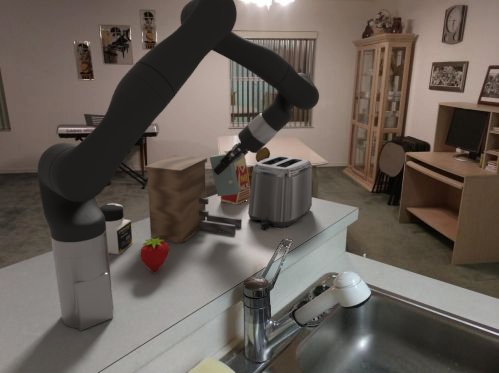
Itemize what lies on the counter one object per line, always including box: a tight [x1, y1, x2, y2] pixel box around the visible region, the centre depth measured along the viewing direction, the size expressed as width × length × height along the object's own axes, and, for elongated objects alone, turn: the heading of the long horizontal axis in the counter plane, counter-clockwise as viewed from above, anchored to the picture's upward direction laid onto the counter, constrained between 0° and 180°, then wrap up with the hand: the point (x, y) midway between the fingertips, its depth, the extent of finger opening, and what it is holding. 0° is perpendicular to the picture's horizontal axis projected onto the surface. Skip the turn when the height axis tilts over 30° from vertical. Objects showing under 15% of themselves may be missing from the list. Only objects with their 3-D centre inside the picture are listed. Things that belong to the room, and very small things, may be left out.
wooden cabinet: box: [144, 154, 243, 244], centre depth 110 cm, size 22×18×21 cm
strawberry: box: [139, 237, 170, 273], centre depth 88 cm, size 6×8×10 cm
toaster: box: [247, 155, 313, 231], centre depth 125 cm, size 17×30×19 cm, turn 148°
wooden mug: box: [247, 146, 271, 189], centre depth 150 cm, size 9×14×18 cm, turn 152°
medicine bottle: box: [99, 203, 133, 255], centre depth 100 cm, size 7×7×12 cm
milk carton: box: [220, 150, 250, 206], centre depth 140 cm, size 9×9×20 cm
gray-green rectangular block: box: [209, 153, 240, 197], centre depth 111 cm, size 6×4×12 cm, turn 72°
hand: (218, 170), depth 112 cm, fingers closed on gray-green rectangular block, 3 cm apart
